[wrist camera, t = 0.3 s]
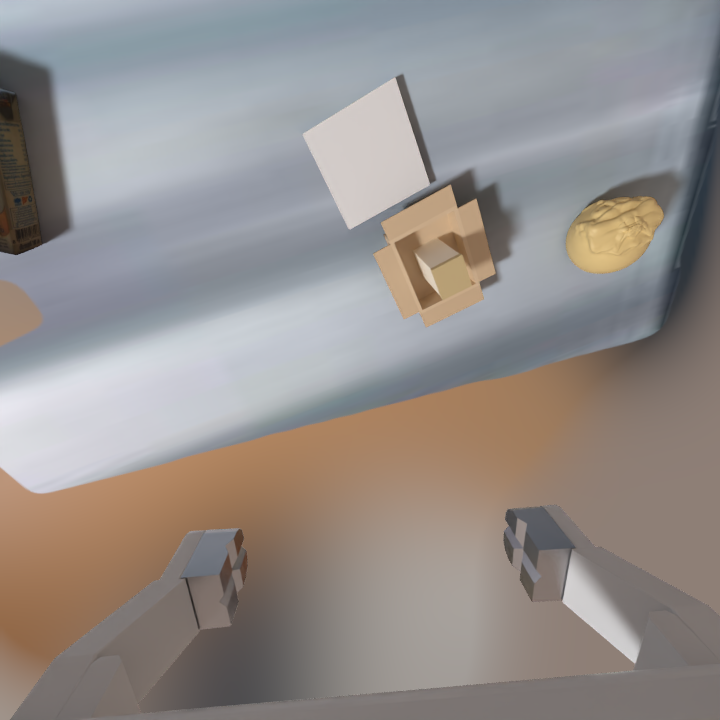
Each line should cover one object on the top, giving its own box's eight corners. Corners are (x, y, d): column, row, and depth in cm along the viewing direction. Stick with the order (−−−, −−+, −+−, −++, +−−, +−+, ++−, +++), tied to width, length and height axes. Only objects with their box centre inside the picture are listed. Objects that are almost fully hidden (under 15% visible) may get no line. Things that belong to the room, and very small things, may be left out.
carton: (405, 323, 65) (411, 334, 61) (359, 226, 54) (363, 232, 50) (488, 282, 62) (500, 291, 59) (458, 171, 52) (470, 174, 48)
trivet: (348, 228, 54) (349, 229, 53) (302, 134, 46) (302, 134, 45) (427, 184, 52) (430, 184, 51) (393, 78, 44) (395, 77, 43)
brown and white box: (422, 276, 60) (442, 300, 50) (411, 250, 57) (431, 270, 48) (446, 263, 59) (472, 285, 50) (437, 236, 56) (462, 254, 47)
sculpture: (619, 180, 56) (679, 186, 47) (619, 246, 62) (672, 263, 53) (552, 212, 57) (598, 225, 48) (559, 273, 63) (600, 295, 54)
